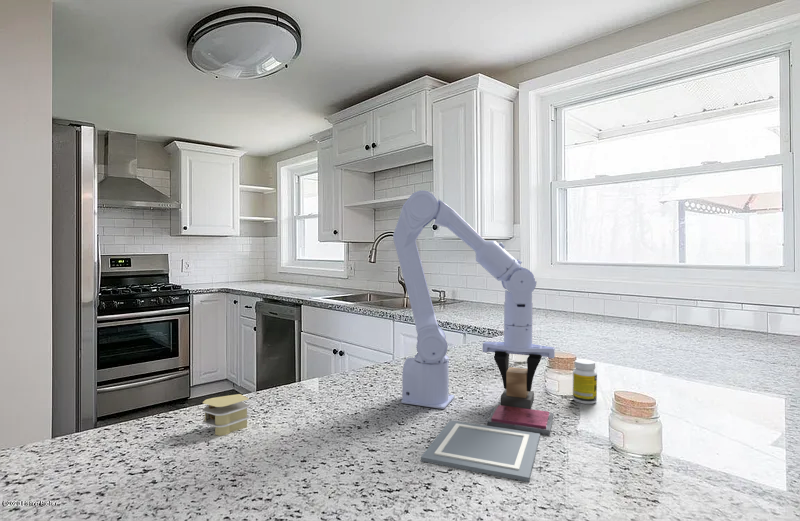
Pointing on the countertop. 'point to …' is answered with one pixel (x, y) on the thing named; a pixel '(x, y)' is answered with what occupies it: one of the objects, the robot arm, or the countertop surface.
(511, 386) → the stamp
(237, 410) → the yellow white layered block
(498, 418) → the ink pad
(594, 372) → the supplement bottle
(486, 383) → the countertop surface
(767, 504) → the countertop surface
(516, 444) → the marked board
